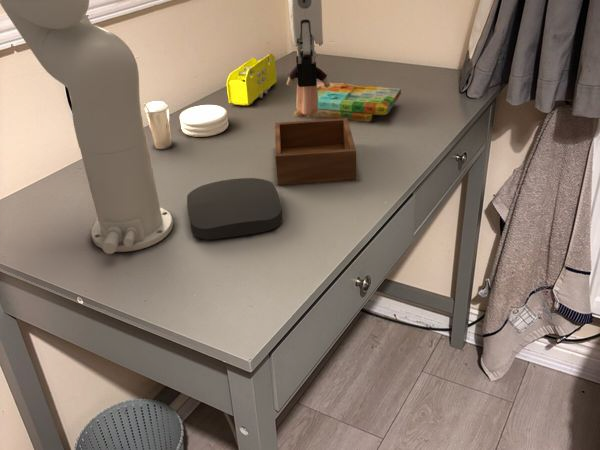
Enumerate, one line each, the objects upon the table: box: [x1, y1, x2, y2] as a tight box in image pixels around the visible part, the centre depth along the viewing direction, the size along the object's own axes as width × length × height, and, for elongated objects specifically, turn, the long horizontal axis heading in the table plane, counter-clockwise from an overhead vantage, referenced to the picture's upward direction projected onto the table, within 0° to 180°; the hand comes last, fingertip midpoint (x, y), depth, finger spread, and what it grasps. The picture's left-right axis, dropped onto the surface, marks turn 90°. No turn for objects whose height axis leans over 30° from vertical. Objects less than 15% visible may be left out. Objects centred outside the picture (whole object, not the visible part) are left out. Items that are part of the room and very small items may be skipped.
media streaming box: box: [186, 177, 284, 240], centre depth 103 cm, size 15×15×3 cm
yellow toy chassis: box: [225, 53, 277, 106], centre depth 148 cm, size 16×6×8 cm, turn 158°
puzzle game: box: [295, 81, 402, 122], centre depth 138 cm, size 12×5×20 cm
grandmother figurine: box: [286, 49, 331, 119], centre depth 110 cm, size 8×4×13 cm, turn 85°
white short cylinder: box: [179, 104, 229, 138], centre depth 134 cm, size 10×10×4 cm
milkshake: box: [143, 100, 172, 150], centre depth 126 cm, size 4×5×10 cm
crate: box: [274, 118, 357, 186], centre depth 116 cm, size 15×14×6 cm
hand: (306, 81), depth 111 cm, fingers closed on grandmother figurine, 3 cm apart
